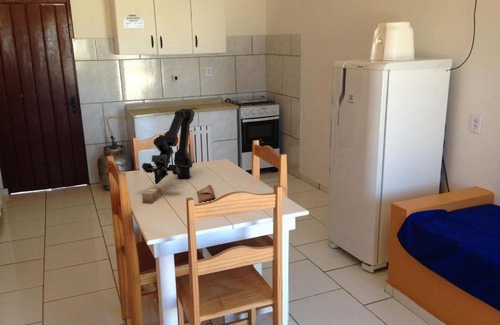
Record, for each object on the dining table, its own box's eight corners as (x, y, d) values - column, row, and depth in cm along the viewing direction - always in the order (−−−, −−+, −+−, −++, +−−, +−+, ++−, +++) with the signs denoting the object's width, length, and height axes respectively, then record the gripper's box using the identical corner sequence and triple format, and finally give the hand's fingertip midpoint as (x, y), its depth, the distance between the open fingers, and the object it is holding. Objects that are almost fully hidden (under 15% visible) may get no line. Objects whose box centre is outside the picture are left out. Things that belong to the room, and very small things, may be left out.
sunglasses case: (195, 191, 226) (201, 180, 225) (207, 197, 228) (214, 186, 227) (198, 203, 208) (204, 191, 208) (211, 209, 210) (217, 197, 210)
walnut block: (151, 186, 218) (141, 192, 209) (161, 187, 217) (151, 193, 208) (152, 196, 220) (142, 203, 211) (161, 197, 219) (152, 204, 209)
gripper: (141, 147, 220) (132, 174, 213) (176, 149, 215) (167, 177, 208) (150, 158, 230) (141, 185, 222) (183, 160, 225) (175, 187, 217)
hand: (156, 183), depth 217 cm, fingers closed
